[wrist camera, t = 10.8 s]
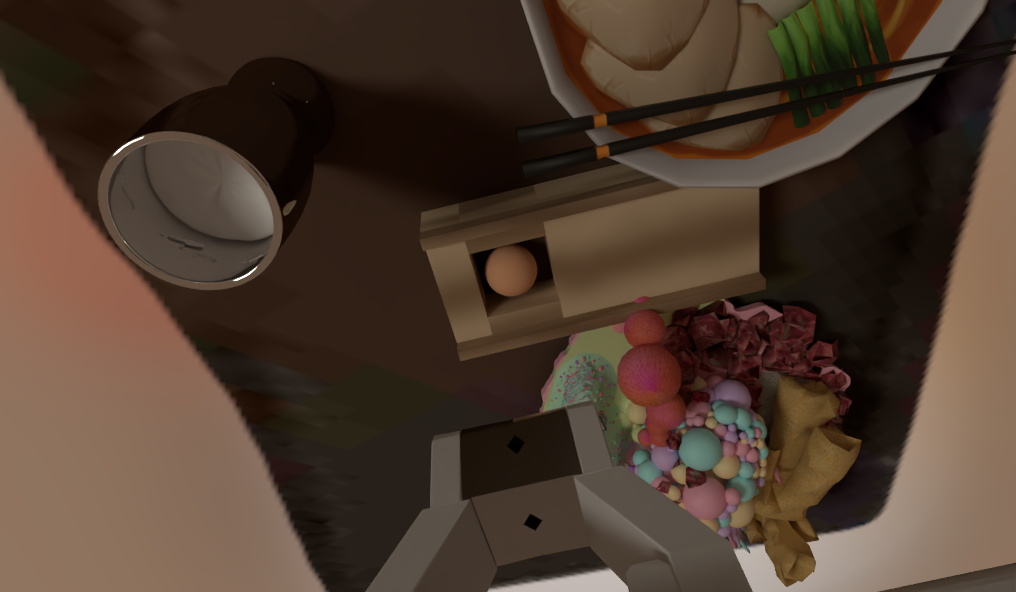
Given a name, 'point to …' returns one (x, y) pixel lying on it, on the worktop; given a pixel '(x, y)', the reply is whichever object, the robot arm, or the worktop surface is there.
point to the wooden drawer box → (592, 254)
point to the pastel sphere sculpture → (720, 416)
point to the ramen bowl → (736, 80)
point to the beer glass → (219, 176)
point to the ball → (510, 270)
